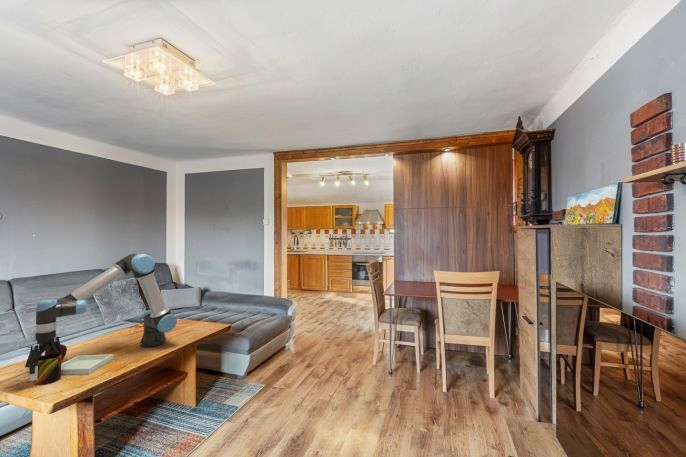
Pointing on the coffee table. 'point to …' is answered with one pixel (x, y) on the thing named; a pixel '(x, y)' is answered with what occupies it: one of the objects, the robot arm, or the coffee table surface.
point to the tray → (85, 364)
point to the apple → (59, 350)
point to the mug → (48, 369)
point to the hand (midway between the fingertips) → (44, 374)
